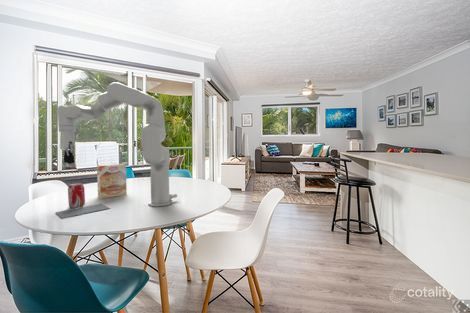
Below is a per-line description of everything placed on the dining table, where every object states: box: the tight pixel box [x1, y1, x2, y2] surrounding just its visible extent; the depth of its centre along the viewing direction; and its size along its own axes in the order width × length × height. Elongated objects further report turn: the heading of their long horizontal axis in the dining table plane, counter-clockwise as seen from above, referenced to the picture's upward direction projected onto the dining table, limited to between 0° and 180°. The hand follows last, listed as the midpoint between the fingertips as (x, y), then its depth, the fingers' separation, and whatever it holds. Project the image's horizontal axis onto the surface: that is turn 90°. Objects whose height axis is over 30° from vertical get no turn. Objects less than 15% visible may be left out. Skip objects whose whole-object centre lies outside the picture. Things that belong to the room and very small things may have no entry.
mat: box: [55, 203, 111, 219], centre depth 114 cm, size 20×12×1 cm, turn 138°
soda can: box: [67, 182, 86, 209], centre depth 120 cm, size 7×7×12 cm
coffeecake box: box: [96, 163, 127, 199], centre depth 145 cm, size 15×7×20 cm, turn 132°
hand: (69, 162), depth 127 cm, fingers open, 5 cm apart
